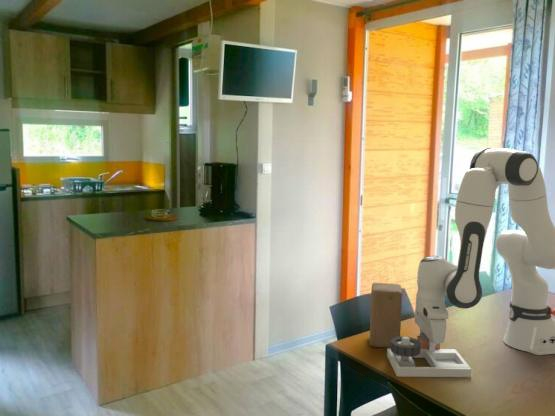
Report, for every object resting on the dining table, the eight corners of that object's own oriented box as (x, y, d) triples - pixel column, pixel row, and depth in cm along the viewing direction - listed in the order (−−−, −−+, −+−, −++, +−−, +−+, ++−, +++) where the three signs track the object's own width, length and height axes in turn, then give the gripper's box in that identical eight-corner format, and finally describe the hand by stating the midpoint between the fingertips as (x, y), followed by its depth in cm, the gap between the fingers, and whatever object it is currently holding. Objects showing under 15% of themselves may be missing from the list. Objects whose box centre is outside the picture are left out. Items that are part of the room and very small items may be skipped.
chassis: (454, 356, 170) (456, 330, 168) (470, 377, 155) (472, 348, 154) (387, 355, 170) (388, 329, 168) (396, 376, 155) (398, 347, 154)
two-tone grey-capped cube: (434, 349, 175) (435, 332, 174) (439, 356, 170) (440, 337, 169) (416, 349, 175) (417, 332, 174) (421, 356, 170) (422, 338, 169)
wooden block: (399, 349, 174) (402, 292, 172) (369, 347, 176) (371, 290, 174) (398, 338, 184) (401, 283, 181) (370, 336, 186) (372, 281, 183)
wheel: (415, 344, 166) (416, 336, 166) (423, 356, 157) (423, 347, 157) (388, 344, 166) (388, 336, 166) (394, 356, 157) (394, 347, 157)
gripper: (411, 295, 180) (409, 334, 182) (430, 315, 160) (427, 358, 161) (429, 296, 180) (427, 334, 182) (450, 315, 160) (447, 358, 162)
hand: (427, 346), depth 171 cm, fingers open, 6 cm apart
